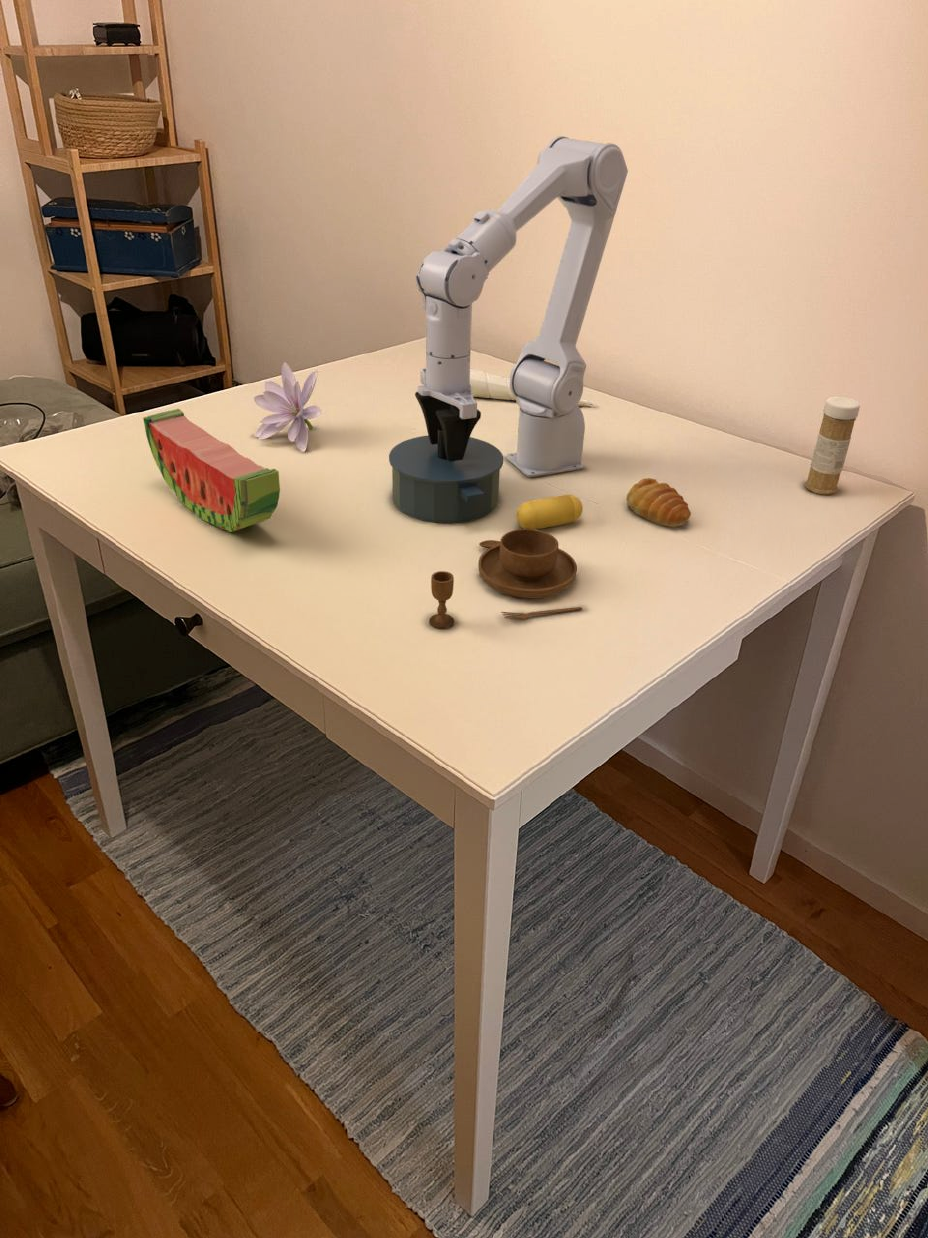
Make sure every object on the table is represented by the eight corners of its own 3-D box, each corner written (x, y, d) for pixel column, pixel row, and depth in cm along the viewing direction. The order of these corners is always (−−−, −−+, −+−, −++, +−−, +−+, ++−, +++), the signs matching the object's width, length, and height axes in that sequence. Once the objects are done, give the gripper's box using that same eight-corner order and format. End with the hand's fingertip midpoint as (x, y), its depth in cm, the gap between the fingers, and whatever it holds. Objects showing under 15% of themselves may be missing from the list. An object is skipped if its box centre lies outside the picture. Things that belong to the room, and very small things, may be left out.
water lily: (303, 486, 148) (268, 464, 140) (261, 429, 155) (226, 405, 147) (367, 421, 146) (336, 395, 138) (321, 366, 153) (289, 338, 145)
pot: (464, 464, 140) (465, 426, 137) (524, 521, 125) (526, 481, 122) (372, 478, 135) (371, 439, 132) (422, 539, 120) (423, 498, 117)
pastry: (701, 523, 126) (706, 497, 124) (664, 534, 123) (668, 508, 121) (655, 496, 133) (659, 471, 131) (619, 506, 130) (622, 481, 128)
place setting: (601, 609, 107) (607, 565, 104) (434, 633, 102) (434, 587, 99) (547, 539, 121) (551, 498, 118) (398, 556, 116) (397, 514, 113)
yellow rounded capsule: (572, 513, 128) (575, 488, 126) (586, 525, 125) (589, 499, 123) (510, 524, 125) (512, 498, 122) (523, 537, 122) (525, 510, 120)
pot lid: (474, 435, 136) (476, 402, 133) (522, 478, 124) (524, 442, 121) (373, 450, 131) (372, 415, 128) (413, 495, 119) (413, 458, 116)
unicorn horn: (591, 414, 159) (594, 387, 156) (457, 398, 164) (458, 372, 161) (595, 405, 163) (598, 378, 160) (464, 390, 168) (465, 363, 165)
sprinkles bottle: (823, 480, 139) (846, 393, 132) (843, 493, 136) (868, 404, 128) (797, 484, 138) (819, 396, 130) (817, 497, 134) (841, 408, 127)
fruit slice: (151, 484, 132) (139, 416, 126) (191, 473, 135) (182, 406, 130) (246, 556, 115) (237, 482, 110) (289, 540, 119) (283, 468, 113)
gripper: (399, 338, 123) (400, 435, 130) (440, 372, 112) (439, 476, 119) (448, 333, 125) (446, 429, 133) (493, 366, 114) (489, 468, 122)
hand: (446, 451), depth 126 cm, fingers open, 5 cm apart
